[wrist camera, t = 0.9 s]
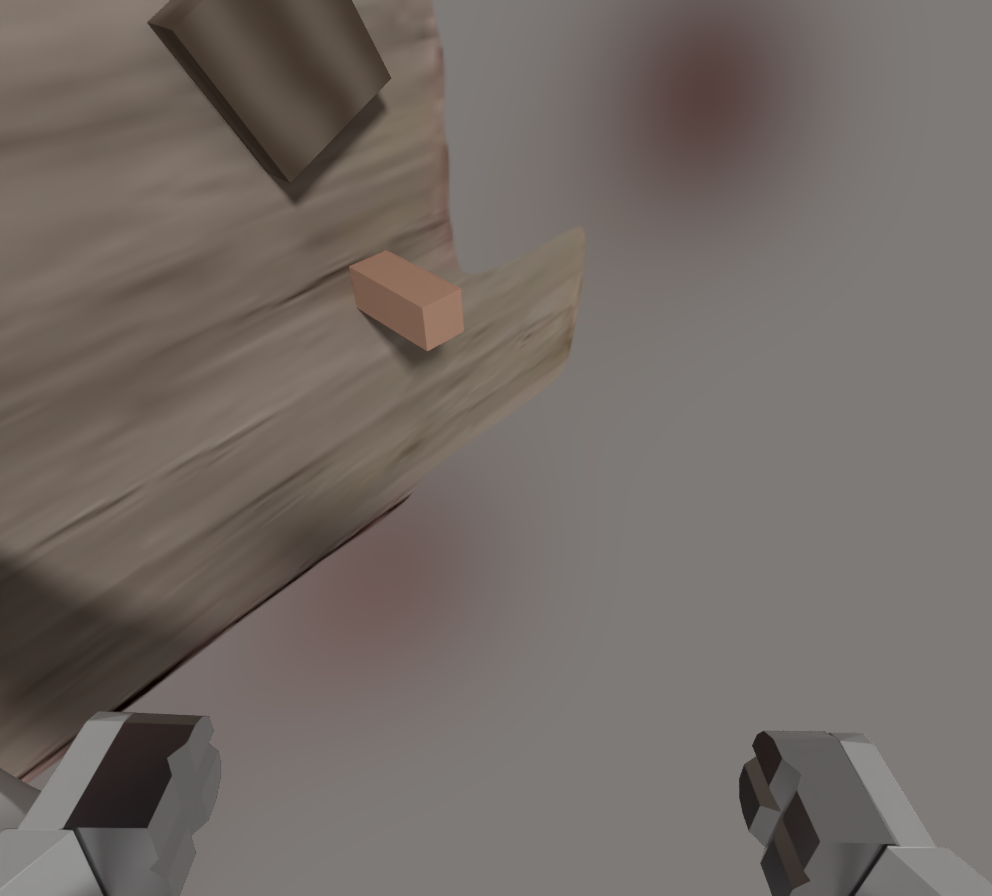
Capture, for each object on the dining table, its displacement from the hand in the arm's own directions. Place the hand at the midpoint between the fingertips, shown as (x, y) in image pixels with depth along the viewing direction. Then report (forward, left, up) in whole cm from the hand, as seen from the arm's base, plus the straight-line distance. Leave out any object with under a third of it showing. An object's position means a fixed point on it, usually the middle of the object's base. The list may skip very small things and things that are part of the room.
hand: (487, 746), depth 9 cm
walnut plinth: (+11, -23, -51) cm, 58 cm away
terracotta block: (-6, -39, -51) cm, 65 cm away
